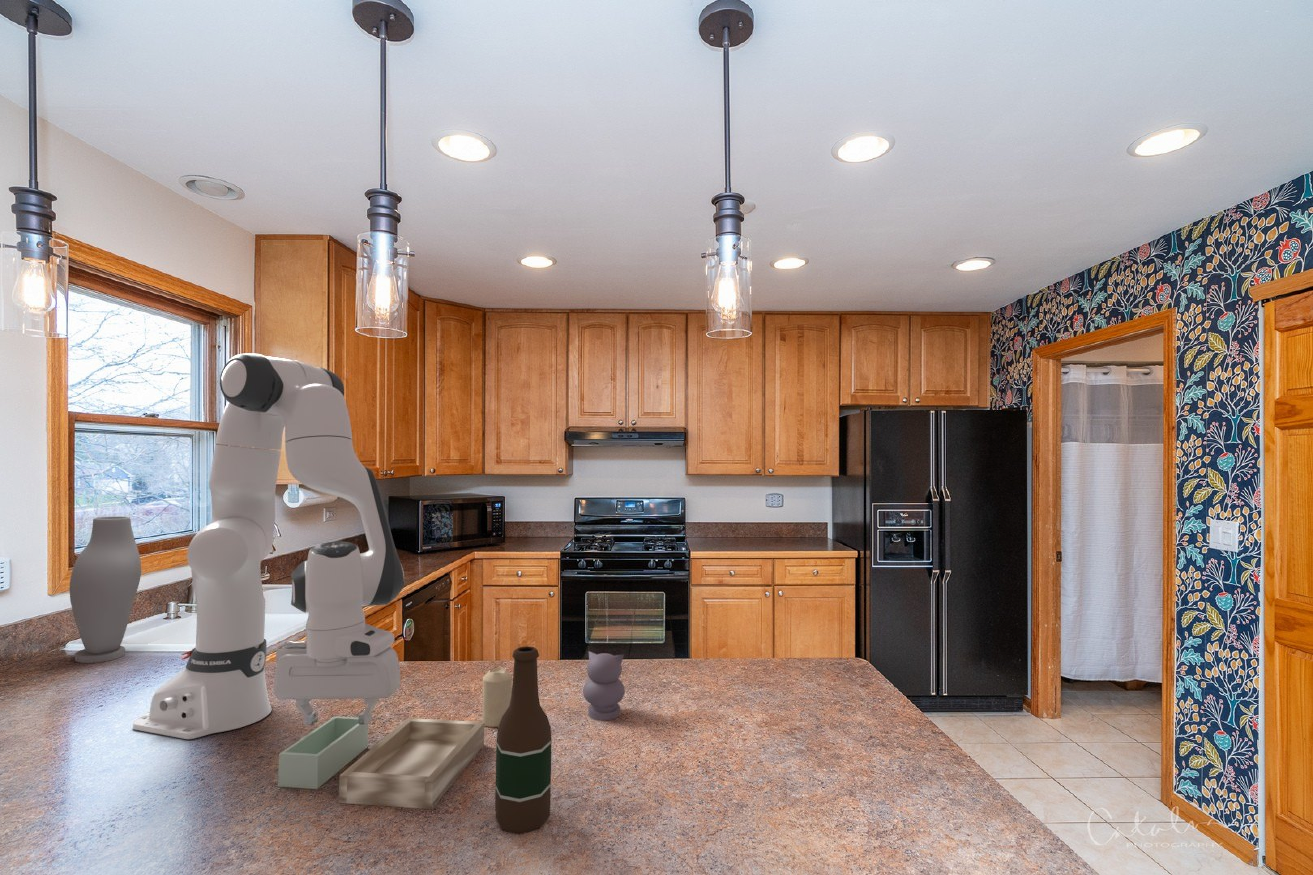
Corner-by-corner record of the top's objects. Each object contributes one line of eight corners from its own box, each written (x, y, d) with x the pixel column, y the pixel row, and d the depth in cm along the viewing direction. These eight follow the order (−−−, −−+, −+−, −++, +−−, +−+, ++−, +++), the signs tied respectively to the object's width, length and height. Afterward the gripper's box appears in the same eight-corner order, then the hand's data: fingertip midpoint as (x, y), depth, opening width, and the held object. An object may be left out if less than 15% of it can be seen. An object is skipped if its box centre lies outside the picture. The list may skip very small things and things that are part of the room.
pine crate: (338, 802, 92) (339, 775, 92) (406, 740, 112) (407, 717, 112) (432, 809, 90) (432, 781, 90) (483, 744, 111) (484, 721, 111)
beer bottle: (499, 804, 92) (502, 641, 93) (552, 802, 92) (555, 640, 93) (489, 836, 84) (493, 657, 85) (547, 834, 85) (550, 657, 85)
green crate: (278, 786, 96) (279, 753, 96) (333, 744, 110) (334, 716, 110) (316, 788, 95) (317, 756, 96) (367, 746, 109) (368, 718, 109)
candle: (503, 728, 117) (504, 675, 118) (476, 725, 118) (477, 673, 119) (515, 716, 123) (516, 665, 123) (490, 714, 124) (491, 663, 124)
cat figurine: (576, 719, 122) (577, 657, 122) (590, 703, 129) (591, 646, 130) (617, 724, 120) (618, 661, 120) (629, 708, 127) (630, 649, 128)
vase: (51, 662, 150) (60, 518, 152) (106, 646, 163) (115, 513, 164) (96, 667, 148) (105, 521, 149) (149, 651, 161) (157, 516, 162)
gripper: (263, 647, 101) (265, 732, 101) (385, 645, 100) (387, 731, 100) (288, 635, 107) (290, 715, 107) (403, 633, 106) (405, 714, 106)
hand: (338, 723), depth 103 cm, fingers open, 8 cm apart
